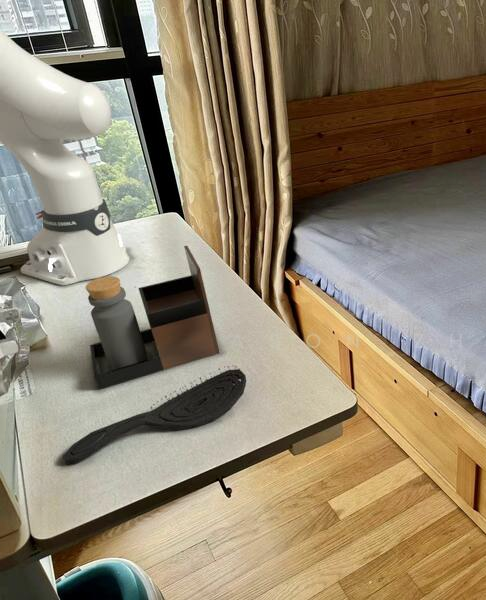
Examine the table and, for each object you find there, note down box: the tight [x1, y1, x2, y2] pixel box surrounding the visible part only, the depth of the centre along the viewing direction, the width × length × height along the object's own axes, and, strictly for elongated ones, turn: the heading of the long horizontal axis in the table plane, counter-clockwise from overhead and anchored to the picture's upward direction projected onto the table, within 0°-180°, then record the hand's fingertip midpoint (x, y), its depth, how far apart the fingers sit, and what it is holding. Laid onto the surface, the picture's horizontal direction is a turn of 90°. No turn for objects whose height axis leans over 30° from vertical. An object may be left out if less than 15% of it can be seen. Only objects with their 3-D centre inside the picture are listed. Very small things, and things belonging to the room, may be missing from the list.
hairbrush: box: [62, 364, 247, 466], centre depth 76 cm, size 8×4×25 cm
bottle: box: [85, 275, 149, 371], centre depth 86 cm, size 6×6×15 cm
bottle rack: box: [89, 245, 220, 391], centre depth 87 cm, size 18×10×16 cm, turn 120°
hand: (18, 328), depth 79 cm, fingers open, 8 cm apart
